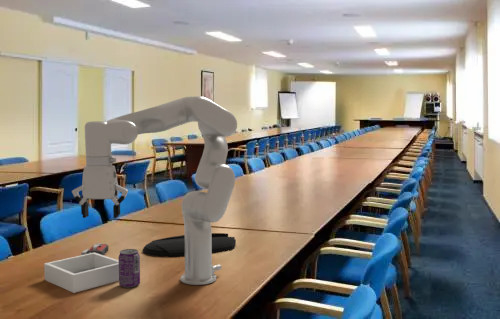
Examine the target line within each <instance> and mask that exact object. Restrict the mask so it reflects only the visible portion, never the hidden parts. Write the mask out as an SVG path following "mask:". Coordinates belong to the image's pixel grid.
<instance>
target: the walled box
mask: <svg viewBox="0 0 500 319" xmlns="http://www.w3.org/2000/svg"><path fill="white" fill-rule="evenodd" d="M43 265H44V280H45V281H46V282H48V283H51V284H53V285H54V286H55V285H56V286H58V287H60V288H62V289H65V291H68V292H71V293H73V294H75V293H78V292H81V291H82V292H83V291H86V290H89V289H93V288H97V287H100V286H104V285H108V284H113V283H115V282H119V259H116V258H112V257H110V256H107V255H101V254H98V253H95V252H94V253H90V254H85V255H76V256H74V257H73V256H71V257H67V258H63V259H59V260H53V261H50V262H49V261H48V262H45V263H43Z"/></svg>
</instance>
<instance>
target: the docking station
mask: <svg viewBox="0 0 500 319" xmlns="http://www.w3.org/2000/svg"><path fill="white" fill-rule="evenodd" d="M236 240H237V239H236V238H235V236H229V233H226V232H225V233H221V232H213V233H212V254H216V252H217V253H222V251H224V252H228V250H229V251H232V250H234V249H235V248H236V246H237V242H236ZM142 253H143V254H144V255H147V256H152V257H167V258H168V257H169V258H178V257H179V258H181V257H185V234H183V235H182V234H181V235H176V236H175V235H174V236H169V237H163V238H160V239H155V240H152V241H151V242H149V243H147V244H146V245H145V246H144V247H143V248H142ZM180 256H181V257H180Z"/></svg>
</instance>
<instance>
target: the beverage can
mask: <svg viewBox="0 0 500 319" xmlns="http://www.w3.org/2000/svg"><path fill="white" fill-rule="evenodd" d="M140 257H141V256H140V254H139V250H138V249H135V248H127V249H126V248H124V249H122V250H120V251H119V256H118V260H119V281H118V284H119V286H121V287H123V288H128V289H129V288H135V287H136V286H139V285H140V283H141V263H140V261H141V260H140V259H141V258H140Z"/></svg>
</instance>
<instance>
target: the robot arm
mask: <svg viewBox="0 0 500 319" xmlns="http://www.w3.org/2000/svg"><path fill="white" fill-rule="evenodd" d="M192 122H197V126H198V130H199V132H200V134H201V136H202V137H203V141H204V146H203V147H204V148H203V152H202V156H201V157H200V160H199V163H198V166H197V169H196V173H195V176H194V182H195V183H196V185H197V186H198V187H199V188H201V189H204V190H207V192H205V191H199V190H194V191H193V190H192V191H190V192H187V193H186V194H185V195H184V197H183V198H182V201H181V212H182V217H183V224H184V225H183V226H184V228H183V229H184V235H185V256H184V273H183V274H182V275H181V276H180V282H182V283H183V284H186V285H191V286H202V285H203V286H205V285H209V284H211V283H214V282H215V281H216V280H217V275H216V274H215V272H216V271H220V270H222V265H221V264H216V265H214V264H212V263H213V260H212V259H213V258H212V257H213V256H212V255H213V253H212V232H213V231H212V224H213V223H217V222H219V221H220V220H222V218H223V217H224V215H225V214H226V211H227V208H228V206H229V202H230V200H231V196H232V194H233V192H234V191H233V190H234V188H235V184H236V183H235V182H236V175H235V172H234V170H233V168H232V167H231V166H229V165H227V164H226V161H227V157H228V151H229V147H228V142H227V139H226V138H227V137H230V136H232V135H233V134H235V133H236V131H237V129H238V120H237V118H236V116H235V115H234V114H233V113H231V112H230V110H228V109H225V108H224V107H222V106H221V105H219V104H218V103H215V102H214V101H212V100H211V99H209V98H207V97H205V96H201V95H200V96H185V97H181V98H178V99H174V100H172V101H168V102H165V103H162V104H158V105H155V106H151V107H149V108H146V109H142V110H138V111H133V112H130V113H127V114H123V115H120V116H117V117H114V118H111V119H109V120H104V121H100V120H99V121H98V120H97V121H87V122H86V123H85V124H84V142H85V144H84V145H85V146H84V147H85V166H84V168H83V171H82V173H83V174H82V181H81V182H82V184H81V185H80V186H78V187H76V188H74V189H73V190H71V193H72V195H73V197H74V200H75V201H76V202H77V203H78V204H79V206H80V211H81V212H80V213H81V215H82V219H86V218H87V217H89V214H90V212H89V203H88V201H89V200H111V201H112V202H113V203H114V205H112V206H113V207H112V208H113V210H112V211H113V218H114V219H117V218H118V217H119V216H120V215H121V203H123V202H124V201H125V199H126V197H127V195H128V193H129V189H127V188H125V187H123V186H121V185H119V183H118V176H117V175H118V174H117V171H116V166H115V165H113V164H114V163H116V162H117V158H116V157H113V155H112V144H113V145H115V144H116V145H129V144H131V143H133V142H134V141H136V140H137V138H138V135H142V134H143V135H144V134H154V133H156V134H157V133H160V132H166V131H169V130H171V129H174V128H176V127H179V126H183V125H185V124H188V123H192ZM80 191H81V193H82V196H81V195H80V193H79V192H80ZM119 192H121V195H120V197H119V196H118V195H119ZM211 223H212V224H211Z"/></svg>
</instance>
